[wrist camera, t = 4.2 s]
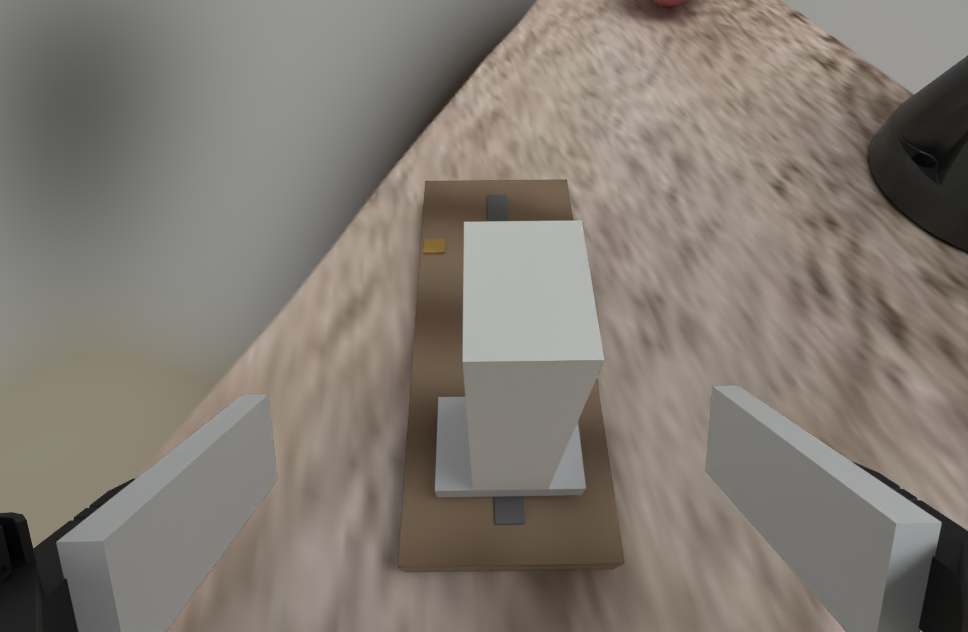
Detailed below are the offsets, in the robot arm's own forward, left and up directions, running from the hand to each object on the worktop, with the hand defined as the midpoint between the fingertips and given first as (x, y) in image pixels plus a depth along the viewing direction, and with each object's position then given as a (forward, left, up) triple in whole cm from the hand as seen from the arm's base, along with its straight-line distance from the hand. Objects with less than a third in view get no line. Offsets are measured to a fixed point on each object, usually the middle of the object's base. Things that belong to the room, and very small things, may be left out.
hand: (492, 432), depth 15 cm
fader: (-2, -1, -7) cm, 8 cm away
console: (-7, -5, -10) cm, 13 cm away
